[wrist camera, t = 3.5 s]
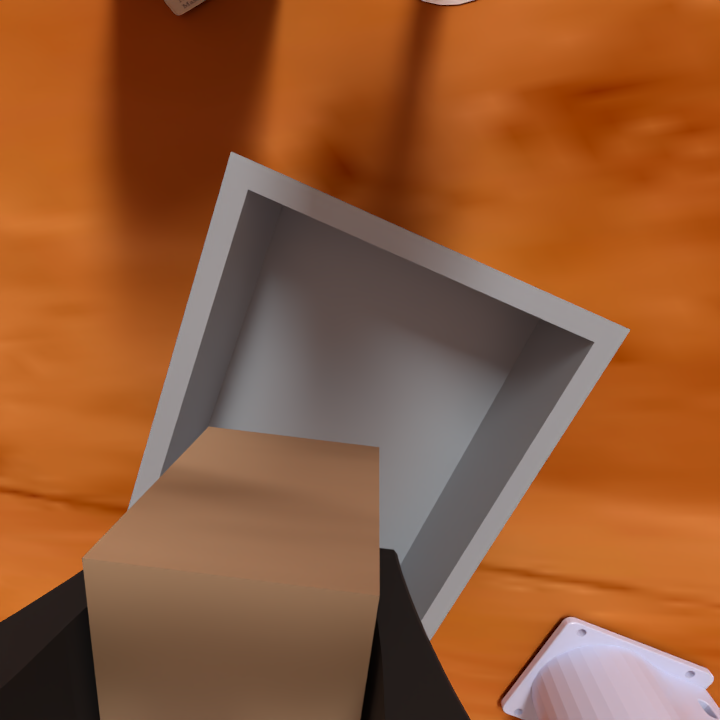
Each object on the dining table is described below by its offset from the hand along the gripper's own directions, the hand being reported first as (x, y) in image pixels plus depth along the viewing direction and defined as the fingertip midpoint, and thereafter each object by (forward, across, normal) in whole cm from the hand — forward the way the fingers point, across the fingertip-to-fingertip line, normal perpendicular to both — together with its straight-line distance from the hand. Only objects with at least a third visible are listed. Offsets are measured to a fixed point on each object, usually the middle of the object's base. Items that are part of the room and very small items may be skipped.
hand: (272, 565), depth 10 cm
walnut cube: (+2, 0, 0) cm, 2 cm away
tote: (+9, -1, 0) cm, 9 cm away
